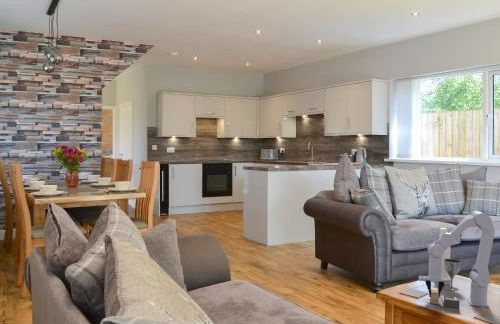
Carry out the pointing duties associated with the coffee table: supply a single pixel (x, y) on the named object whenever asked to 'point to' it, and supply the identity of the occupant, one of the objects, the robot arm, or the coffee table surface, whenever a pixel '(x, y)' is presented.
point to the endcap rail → (451, 303)
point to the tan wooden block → (434, 296)
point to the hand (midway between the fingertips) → (434, 296)
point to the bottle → (444, 257)
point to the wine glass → (452, 270)
